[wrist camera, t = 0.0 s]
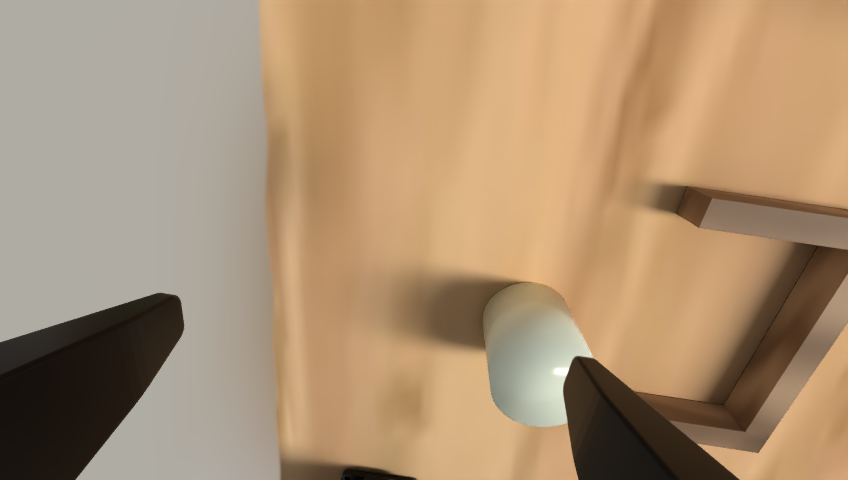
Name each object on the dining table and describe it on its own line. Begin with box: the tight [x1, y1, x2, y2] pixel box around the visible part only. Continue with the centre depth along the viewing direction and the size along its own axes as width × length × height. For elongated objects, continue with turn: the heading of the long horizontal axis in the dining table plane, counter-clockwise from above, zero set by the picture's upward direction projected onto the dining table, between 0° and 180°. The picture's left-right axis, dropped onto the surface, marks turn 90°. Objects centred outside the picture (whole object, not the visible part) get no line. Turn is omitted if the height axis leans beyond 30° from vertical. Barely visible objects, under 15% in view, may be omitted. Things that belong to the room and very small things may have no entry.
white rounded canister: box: [483, 282, 593, 427], centre depth 23 cm, size 6×6×6 cm
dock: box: [635, 187, 848, 453], centre depth 24 cm, size 16×10×2 cm, turn 173°
